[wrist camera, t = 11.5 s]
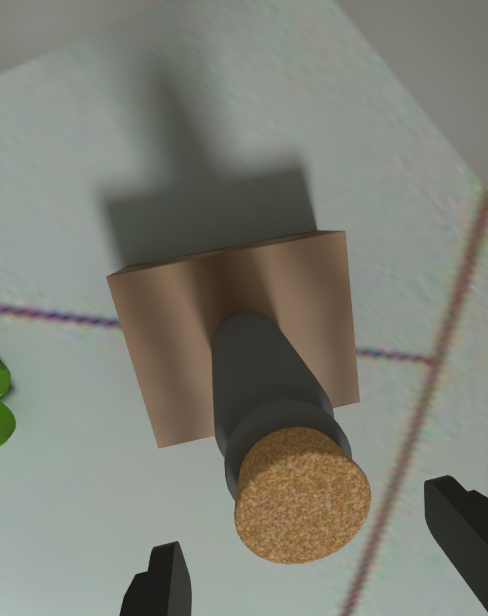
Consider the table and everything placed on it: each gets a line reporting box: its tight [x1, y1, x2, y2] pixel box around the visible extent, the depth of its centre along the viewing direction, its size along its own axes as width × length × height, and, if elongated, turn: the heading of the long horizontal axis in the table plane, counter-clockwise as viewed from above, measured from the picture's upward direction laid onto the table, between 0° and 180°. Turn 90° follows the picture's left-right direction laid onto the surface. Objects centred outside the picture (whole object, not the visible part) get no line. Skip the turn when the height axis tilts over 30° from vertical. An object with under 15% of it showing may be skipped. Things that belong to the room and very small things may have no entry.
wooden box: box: [106, 230, 360, 448], centre depth 27 cm, size 18×15×6 cm
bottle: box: [212, 312, 371, 564], centre depth 17 cm, size 6×6×15 cm
